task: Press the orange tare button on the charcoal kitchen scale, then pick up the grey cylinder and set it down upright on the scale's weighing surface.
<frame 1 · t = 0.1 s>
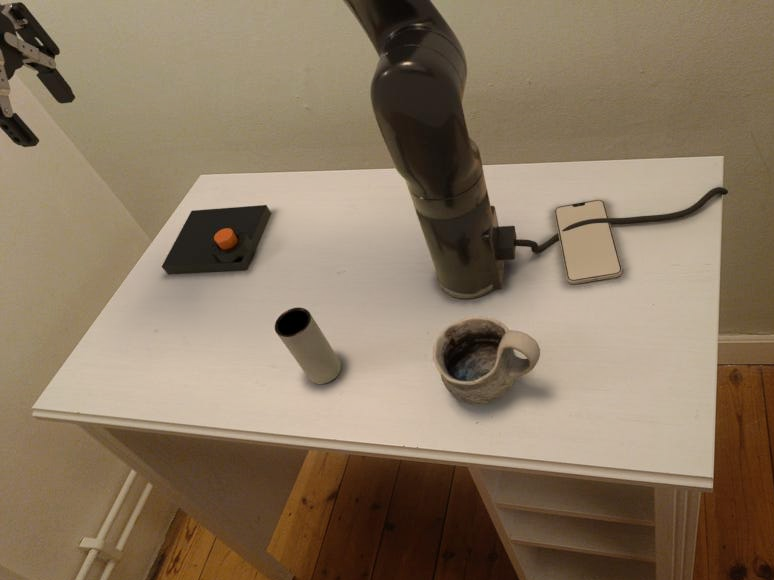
hand: (50, 122, 72), 29 cm above the table, tool pointing down, fingers open, 8 cm apart
grey cylinder: (325, 371, 81), on the table
mug: (495, 381, 75), on the table
scale: (221, 243, 100), on the table
smartphone: (586, 242, 86), on the table
tare button: (226, 239, 94), point 4 cm above the table, slide at 0.1 cm
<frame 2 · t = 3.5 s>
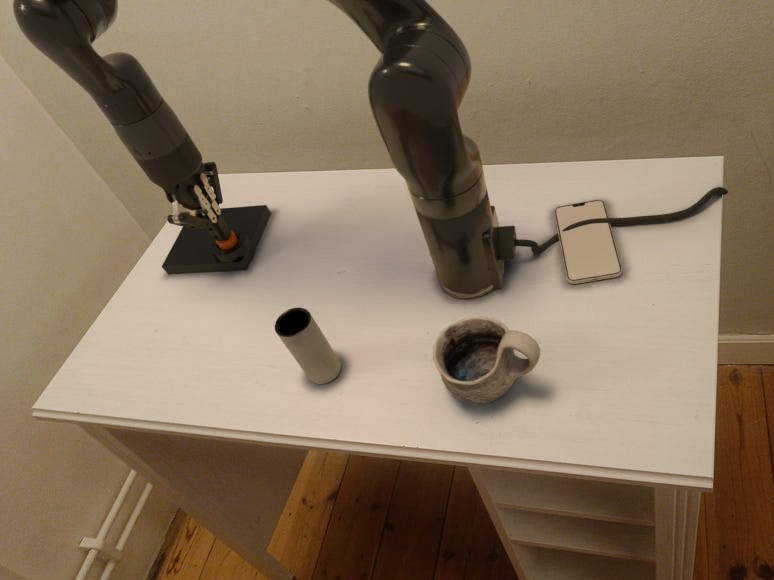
hand: (224, 237, 94), 4 cm above the table, tool pointing down, fingers closed
tare button: (227, 241, 94), point 4 cm above the table, slide at -0.3 cm, touching gripper
everything else where it was.
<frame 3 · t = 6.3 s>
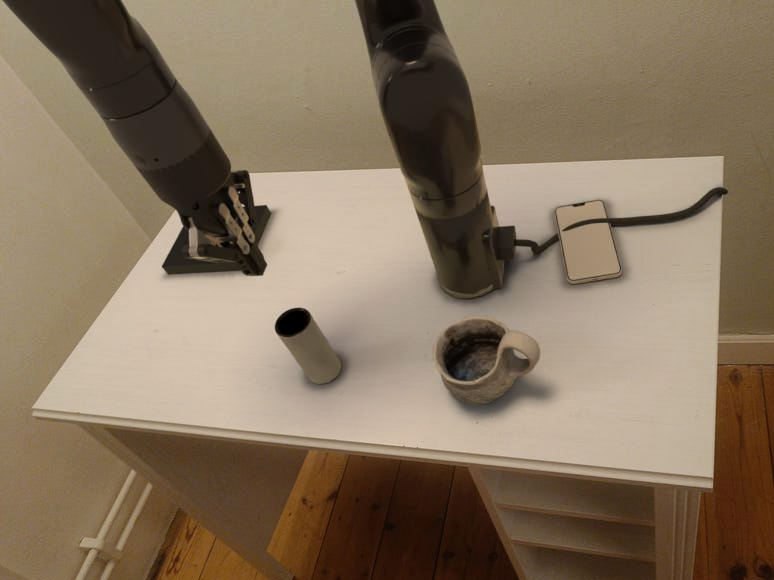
hand: (258, 270, 70), 16 cm above the table, tool pointing down, fingers closed
tare button: (226, 239, 94), point 4 cm above the table, slide at 0.1 cm
everything else where it was.
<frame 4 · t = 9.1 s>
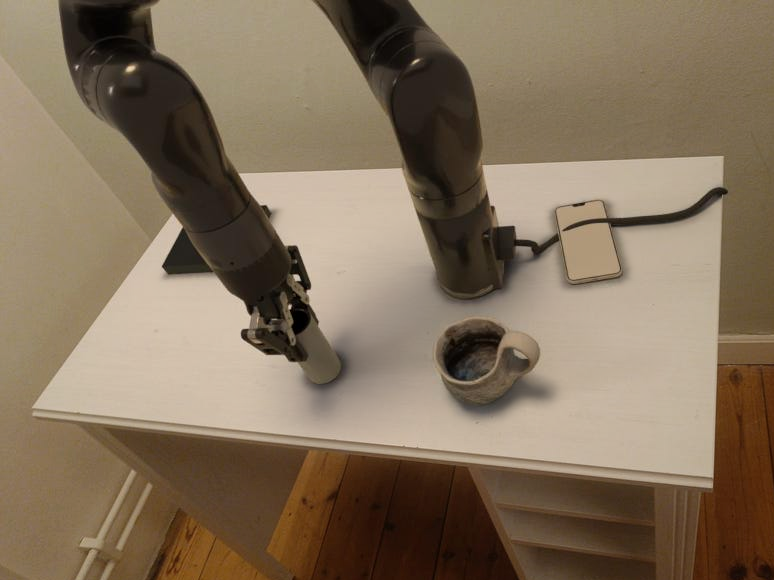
hand: (305, 341, 76), 6 cm above the table, tool pointing down, fingers closed on grey cylinder, 4 cm apart
grey cylinder: (325, 371, 81), on the table, touching gripper
everything else where it was.
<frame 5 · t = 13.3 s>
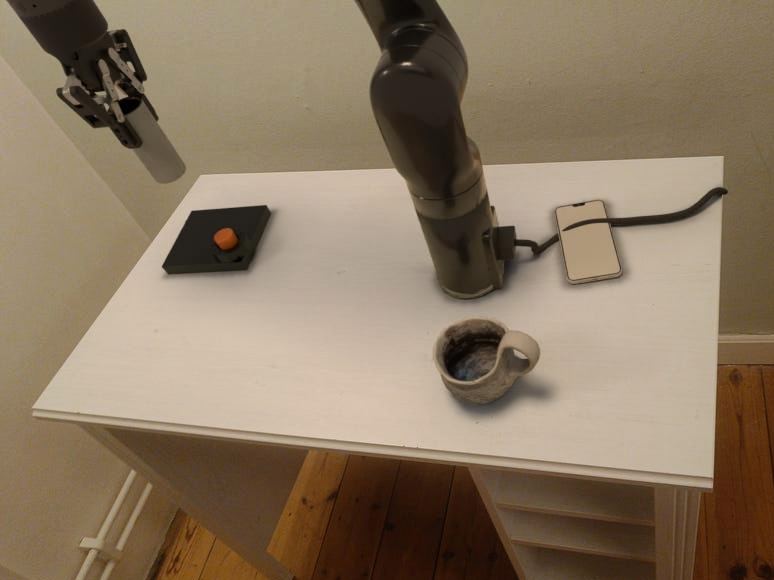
hand: (143, 133, 79), 23 cm above the table, tool pointing down, fingers closed on grey cylinder, 4 cm apart
grey cylinder: (171, 174, 85), point 16 cm above the table, touching gripper
everything else where it was.
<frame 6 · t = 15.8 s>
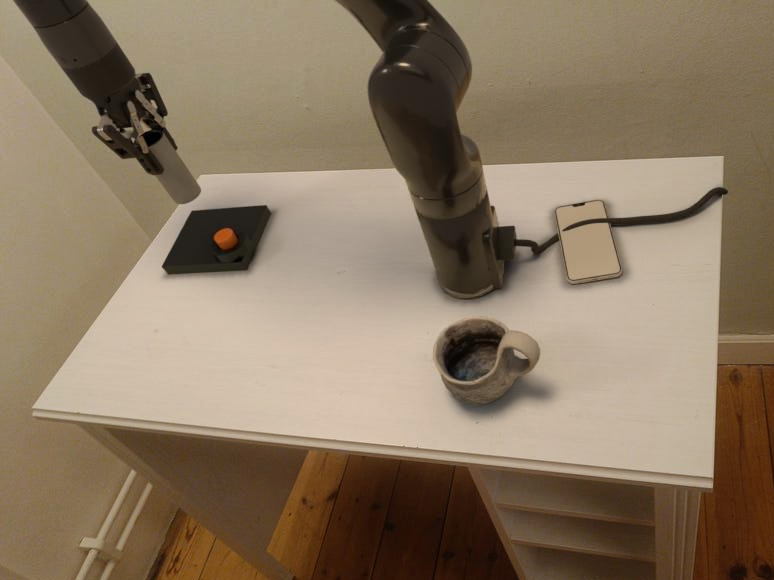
hand: (164, 161, 91), 14 cm above the table, tool pointing down, fingers closed on grey cylinder, 4 cm apart
grey cylinder: (188, 196, 96), point 8 cm above the table, touching gripper
everything else where it was.
when the fingers open (8 cm above the table, at t = 17.8 s): grey cylinder stays where it is, resting on scale.
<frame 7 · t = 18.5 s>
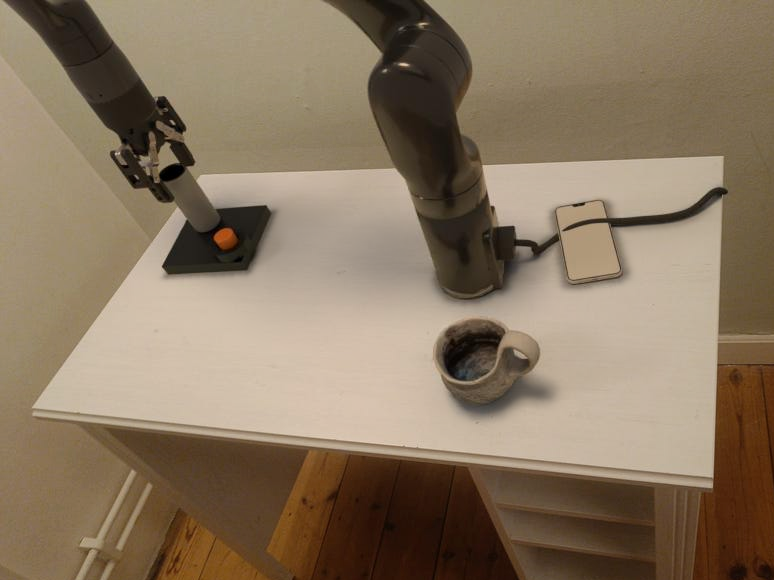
hand: (179, 182, 94), 10 cm above the table, tool pointing down, fingers open, 8 cm apart
grey cylinder: (208, 224, 101), point 2 cm above the table, touching scale
everything else where it was.
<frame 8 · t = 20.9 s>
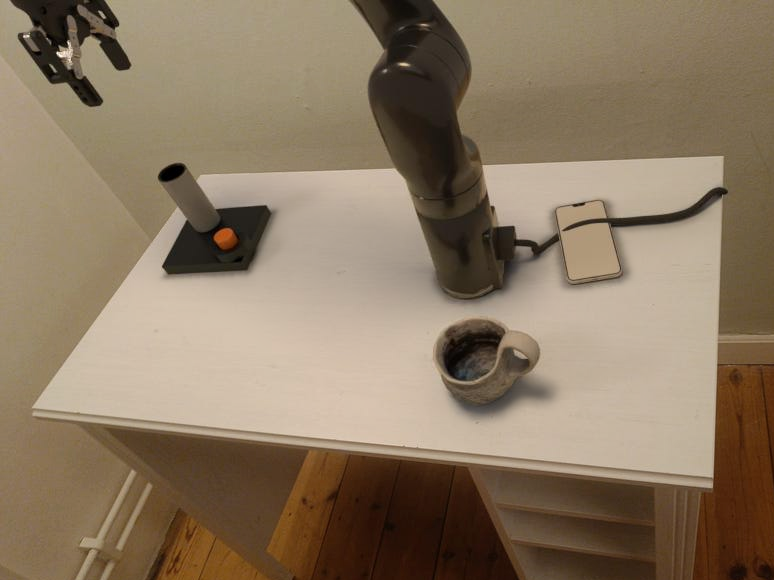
hand: (111, 86, 81), 26 cm above the table, tool pointing down, fingers open, 8 cm apart
nothing on the table moved.
at the end: tare button pushed in 0.9 cm at the most during the clip, back to where it started at the end; grey cylinder inside the target area on the scale (3.8 cm from its centre), point 1.7 cm above the scale's base; grey cylinder touching scale; grey cylinder tilted 0° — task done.
